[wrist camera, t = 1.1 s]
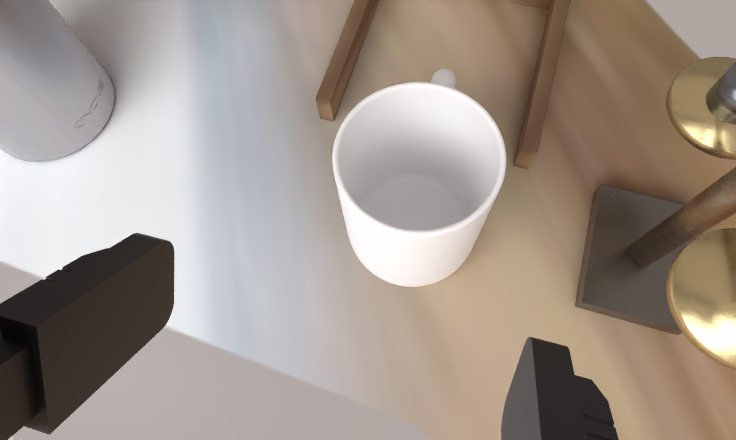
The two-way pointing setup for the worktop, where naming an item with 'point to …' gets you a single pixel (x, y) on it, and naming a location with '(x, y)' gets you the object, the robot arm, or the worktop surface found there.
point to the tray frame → (540, 89)
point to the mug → (417, 178)
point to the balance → (674, 231)
